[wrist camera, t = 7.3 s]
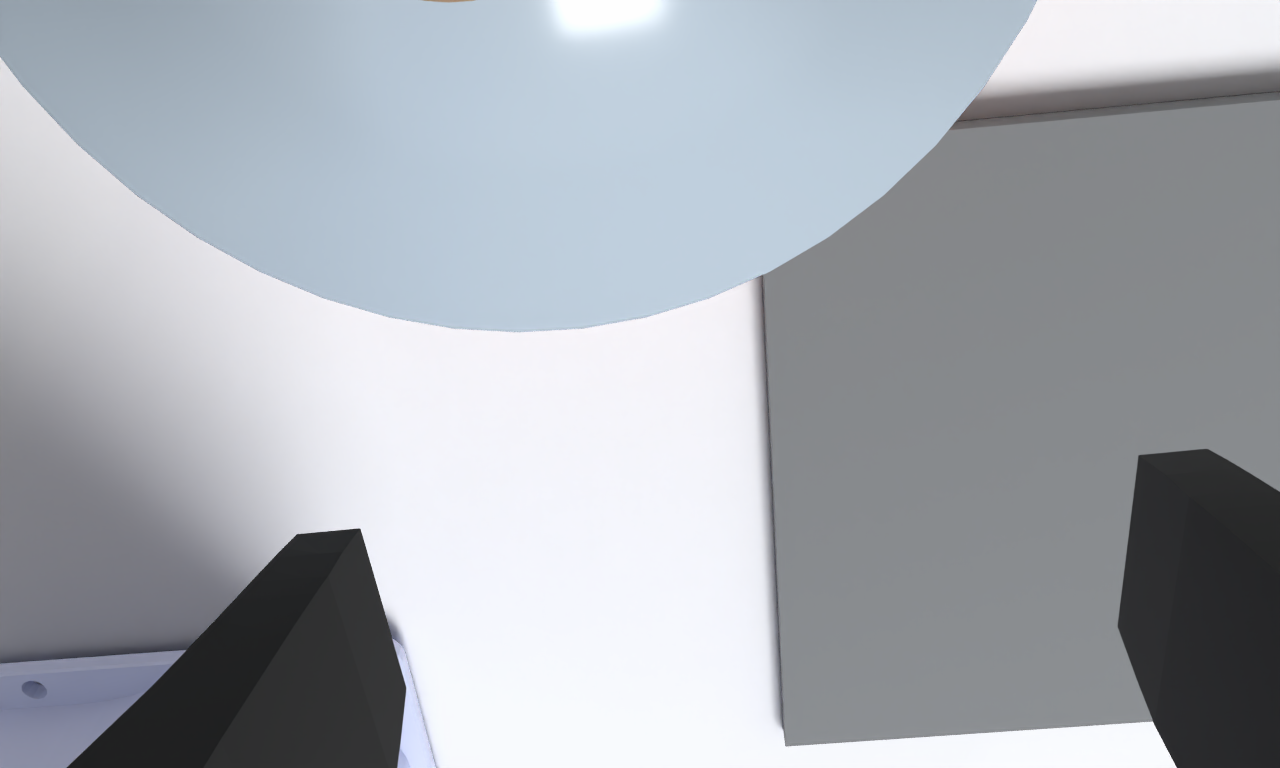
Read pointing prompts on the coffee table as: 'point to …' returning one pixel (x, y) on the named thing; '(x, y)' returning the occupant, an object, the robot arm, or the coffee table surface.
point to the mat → (1011, 409)
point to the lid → (509, 136)
